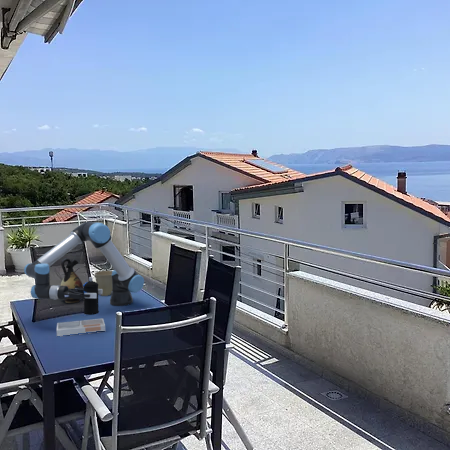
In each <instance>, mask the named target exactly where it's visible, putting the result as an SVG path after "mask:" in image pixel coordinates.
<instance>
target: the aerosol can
mask: <svg viewBox="0 0 450 450" xmlns="http://www.w3.org/2000/svg"><path fill="white" fill-rule="evenodd" d="M93 278H94V277H92V276H90V277H88V281H86V282H85V283H84V284H83V288H84V293H97V298H85V297H84V300H83V310H84V311H83V314H84V315H87V316H94V315H97V314H99V313H100V309H99V308H100V307H99V306H100V305H99V294H98V285H99V284H97V283H96V281H95V280H93Z"/></svg>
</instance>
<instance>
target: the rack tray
mask: <svg viewBox="0 0 450 450" xmlns="http://www.w3.org/2000/svg"><path fill="white" fill-rule="evenodd" d="M96 331H105V332H106V324H105V320H104V318H94V319H92V318H91V319H84V320H73V321H64V322H57V323H56V337H57V336H60V337H64V336H63V335H70V334H78V333H86V332H96ZM70 336H71V335H70Z"/></svg>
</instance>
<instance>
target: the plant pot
mask: <svg viewBox="0 0 450 450" xmlns="http://www.w3.org/2000/svg"><path fill="white" fill-rule="evenodd" d="M112 271H113V270H99V271H96V272H95V273H94V278H95V282H96V283H97V284H99V285H98V289H102V294H99V295H100V296H102V297H108V295H109V296H111V295H112Z"/></svg>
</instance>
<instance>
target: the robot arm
mask: <svg viewBox="0 0 450 450" xmlns="http://www.w3.org/2000/svg"><path fill="white" fill-rule="evenodd" d="M112 238H113V237H112V235H111V230H110V228H109V227H108V225H107V224H104V223H102V222H97V221H96V222H94V221H85V222H83V223H81V224H80V225H77V227H76V228H74V229H73V230H72V231H70V234H69V235H67V236H66V237H65V238H64V239H62V240H61V241H60V242H58V243H57V244H56V245H55V246H53V247H52V248H51V249H50V250H48V251H46V252H45V253H43V254H42V255H41V256H39V258H37V259H36V260H35V261H34V262H31V263H27V264H25V266H24V268H23V272H24V274H25V275H26V276H28V277H29V278H32V279H34V281H35V282H34V283H35V284H33V285H32V286H31V288H30V297H32V298H33V299H39V300H41V299H42V300H43V299H44V300H54V301H56V300H64V299H67V298H73V299H80V300H83V301H84V297H85V298H97V293H84V287H83V288H74V289H69V288H68V287H67V286H60V285H53V284H52V285H51V282H50V280H51V279H50V277H51V275H50V271H51V270H50V267H51V266H52V265H54V264H55V263H56V262H57V261H59V260H60V259H61V258H63V257H64V256H65V255H66V254H67V253H69V252H70V251H71V250H73V249H74V248H76V247H77V246H78V245H83V243H85V242H87V241H89V242H91V244H92V246H93V247H94V248H96V249H98V250H99V251H100V253H102V254H103V256H104V257H105V258H106V260H107V261H108V263H109V264H110V265H111V267H112V269H113V270H111V271H112V293H111V295H110V298H109V304H110V305H111V306H116V307H123V306H124V305H125V306H129V305H132V304H133V303H134V298H133V296H132V293H139V292H140V291H141V290H142V289H143V287H144V285H145V278H144V277H143V276H142V275H140V274H138V272H137V271H136V270H135V268H134V267H130V265H129V264H128V262H127V261H126V260H125V258H124V256H123V255H122V254H121V252H120V251H119V250H118V248H117V247H116V246H115V244H114V243H113V241H112V240H113V239H112ZM100 294H102V289H98V295H100ZM131 303H132V304H131ZM128 304H129V305H128ZM125 306H124V307H125Z"/></svg>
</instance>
